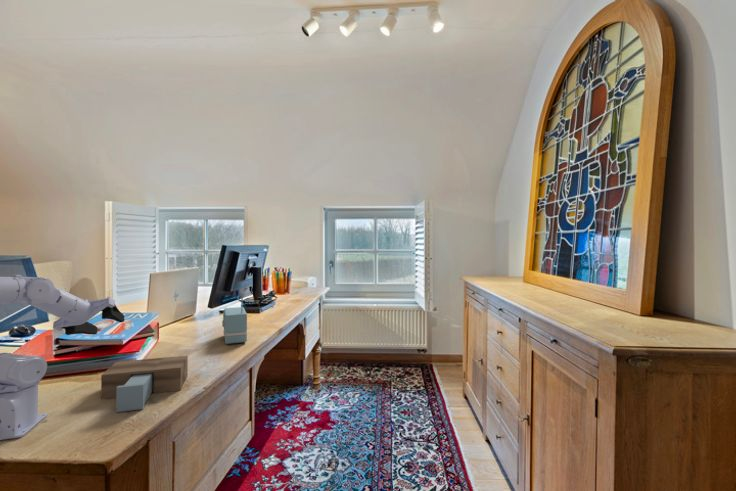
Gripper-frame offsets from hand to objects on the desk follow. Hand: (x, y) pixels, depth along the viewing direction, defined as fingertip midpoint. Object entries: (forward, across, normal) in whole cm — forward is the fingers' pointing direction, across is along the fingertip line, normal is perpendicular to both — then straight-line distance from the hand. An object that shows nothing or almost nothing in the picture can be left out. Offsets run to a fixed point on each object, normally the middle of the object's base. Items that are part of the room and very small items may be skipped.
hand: (109, 324), depth 94 cm
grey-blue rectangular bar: (+6, -4, +21) cm, 22 cm away
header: (+11, -2, +17) cm, 20 cm away
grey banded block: (+50, -12, -6) cm, 52 cm away
